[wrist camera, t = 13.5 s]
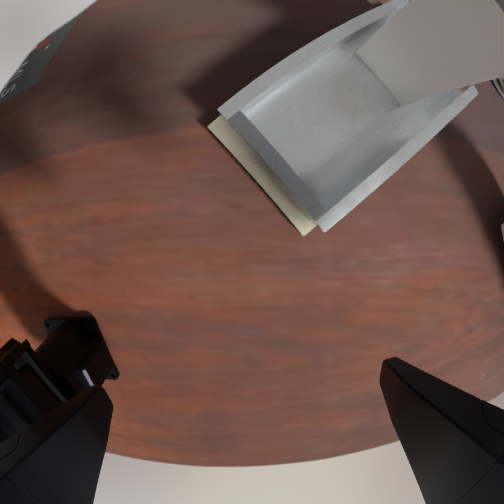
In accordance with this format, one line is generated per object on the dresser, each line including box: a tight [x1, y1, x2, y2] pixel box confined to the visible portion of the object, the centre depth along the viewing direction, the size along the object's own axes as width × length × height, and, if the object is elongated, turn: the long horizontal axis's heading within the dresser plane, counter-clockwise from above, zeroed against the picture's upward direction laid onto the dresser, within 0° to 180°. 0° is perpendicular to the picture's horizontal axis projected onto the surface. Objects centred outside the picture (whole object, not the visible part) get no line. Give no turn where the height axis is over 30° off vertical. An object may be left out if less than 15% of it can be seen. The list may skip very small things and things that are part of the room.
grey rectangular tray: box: [207, 0, 478, 236], centre depth 14 cm, size 18×9×4 cm, turn 131°
